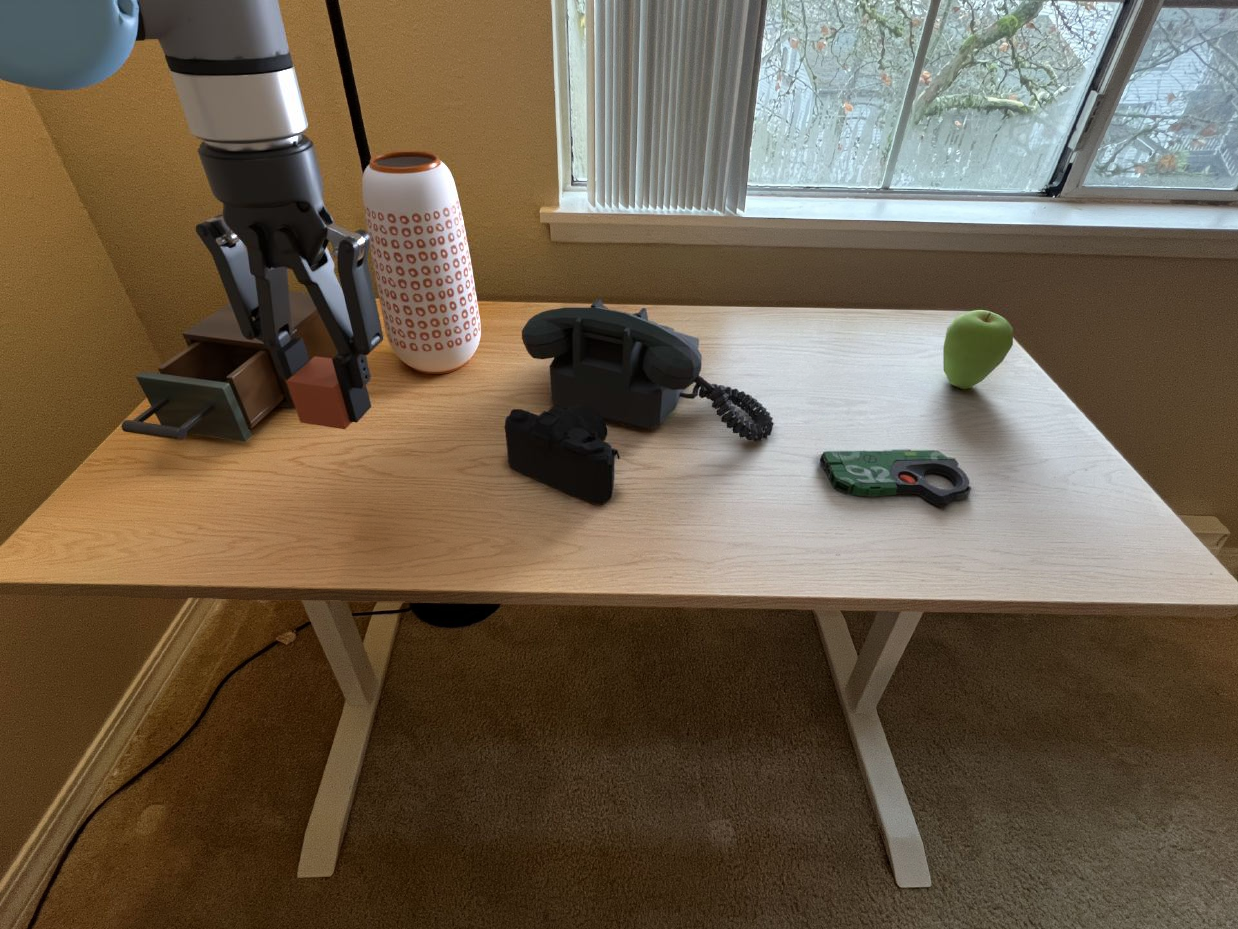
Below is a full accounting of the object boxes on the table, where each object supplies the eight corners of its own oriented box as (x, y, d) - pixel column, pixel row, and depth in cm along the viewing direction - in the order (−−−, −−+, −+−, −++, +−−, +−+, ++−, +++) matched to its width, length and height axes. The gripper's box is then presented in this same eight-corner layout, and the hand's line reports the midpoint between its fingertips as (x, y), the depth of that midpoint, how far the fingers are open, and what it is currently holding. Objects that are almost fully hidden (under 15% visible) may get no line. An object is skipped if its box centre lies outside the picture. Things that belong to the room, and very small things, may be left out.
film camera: (644, 467, 78) (648, 406, 73) (600, 513, 72) (601, 450, 66) (544, 426, 84) (541, 367, 79) (496, 465, 78) (488, 403, 72)
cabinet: (294, 408, 86) (271, 344, 80) (210, 396, 88) (181, 333, 82) (350, 355, 97) (334, 295, 91) (274, 345, 99) (253, 286, 93)
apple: (928, 364, 99) (955, 294, 92) (987, 376, 97) (1019, 304, 90) (928, 393, 93) (957, 320, 86) (992, 405, 91) (1026, 331, 83)
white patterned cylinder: (374, 367, 95) (322, 162, 77) (436, 330, 104) (403, 140, 86) (443, 392, 90) (406, 180, 72) (502, 352, 99) (481, 155, 81)
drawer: (211, 474, 74) (184, 418, 69) (124, 460, 76) (91, 405, 71) (307, 384, 89) (290, 333, 84) (233, 374, 91) (212, 324, 86)
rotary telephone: (790, 381, 94) (812, 284, 85) (760, 468, 79) (782, 360, 69) (581, 337, 103) (580, 244, 94) (517, 406, 88) (508, 304, 78)
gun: (845, 502, 72) (819, 447, 80) (841, 511, 73) (816, 456, 81) (985, 500, 73) (946, 446, 81) (980, 509, 74) (942, 455, 82)
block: (345, 429, 58) (333, 387, 56) (300, 422, 59) (285, 380, 56) (369, 403, 62) (359, 362, 59) (326, 396, 63) (314, 355, 60)
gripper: (394, 135, 47) (439, 401, 62) (182, 117, 50) (274, 377, 64) (340, 161, 42) (404, 447, 56) (103, 139, 44) (224, 419, 59)
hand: (334, 409), depth 60 cm, fingers closed on block, 4 cm apart
